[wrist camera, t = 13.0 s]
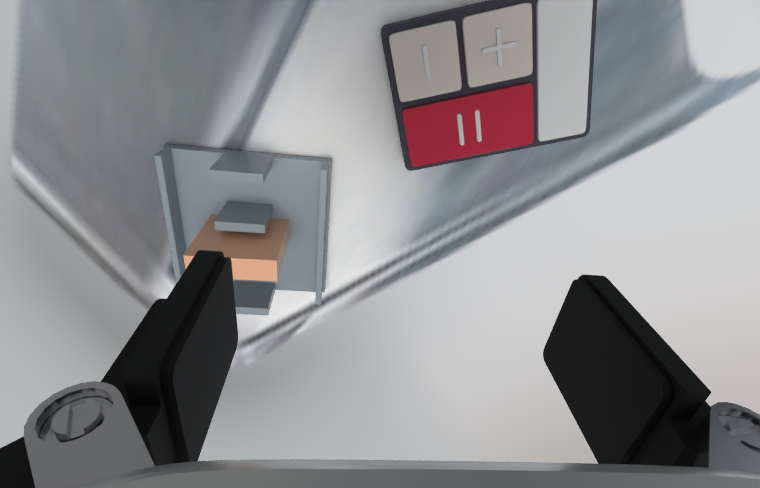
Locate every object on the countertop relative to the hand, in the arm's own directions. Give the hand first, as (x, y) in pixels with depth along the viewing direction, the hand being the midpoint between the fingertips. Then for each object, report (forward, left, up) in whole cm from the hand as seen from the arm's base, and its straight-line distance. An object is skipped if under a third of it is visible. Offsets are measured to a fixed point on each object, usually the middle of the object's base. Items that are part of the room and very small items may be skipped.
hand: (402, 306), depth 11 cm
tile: (+12, -10, -25) cm, 30 cm away
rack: (+12, -10, -26) cm, 31 cm away
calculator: (-3, +9, -27) cm, 29 cm away
